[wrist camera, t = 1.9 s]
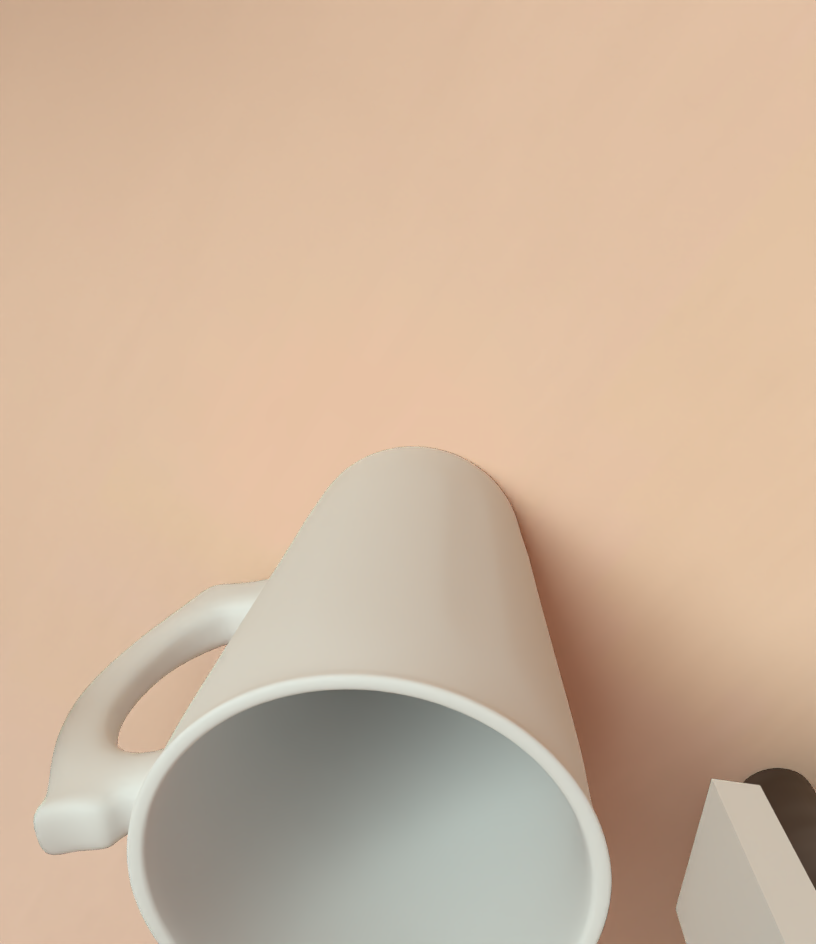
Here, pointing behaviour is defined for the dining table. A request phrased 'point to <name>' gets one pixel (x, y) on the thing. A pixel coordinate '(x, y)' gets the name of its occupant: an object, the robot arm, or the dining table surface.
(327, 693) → the mug
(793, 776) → the small wooden stand
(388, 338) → the dining table surface
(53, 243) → the dining table surface
